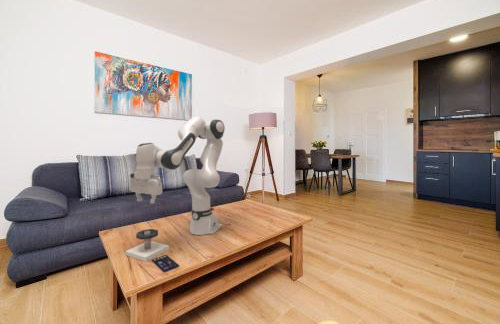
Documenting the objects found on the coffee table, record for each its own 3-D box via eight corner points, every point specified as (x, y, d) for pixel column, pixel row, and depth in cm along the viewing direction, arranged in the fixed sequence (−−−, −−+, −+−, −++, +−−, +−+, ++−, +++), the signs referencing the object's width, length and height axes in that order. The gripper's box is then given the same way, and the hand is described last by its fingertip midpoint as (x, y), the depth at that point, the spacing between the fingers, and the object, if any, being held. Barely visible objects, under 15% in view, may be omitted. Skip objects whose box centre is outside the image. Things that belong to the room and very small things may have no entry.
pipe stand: (149, 244, 120) (149, 225, 119) (168, 249, 114) (168, 229, 113) (125, 255, 107) (124, 234, 107) (145, 261, 101) (145, 239, 101)
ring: (148, 230, 116) (148, 228, 116) (162, 233, 112) (162, 231, 112) (132, 237, 108) (132, 234, 108) (146, 240, 104) (145, 237, 104)
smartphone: (166, 254, 108) (180, 266, 97) (166, 255, 108) (180, 267, 97) (150, 259, 103) (163, 273, 92) (150, 261, 103) (163, 274, 92)
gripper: (165, 175, 110) (165, 203, 110) (138, 173, 119) (138, 198, 120) (155, 176, 104) (155, 205, 105) (127, 174, 113) (127, 200, 114)
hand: (145, 202), depth 112 cm, fingers open, 8 cm apart
